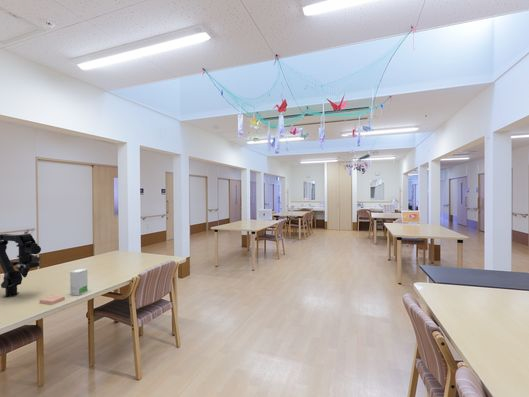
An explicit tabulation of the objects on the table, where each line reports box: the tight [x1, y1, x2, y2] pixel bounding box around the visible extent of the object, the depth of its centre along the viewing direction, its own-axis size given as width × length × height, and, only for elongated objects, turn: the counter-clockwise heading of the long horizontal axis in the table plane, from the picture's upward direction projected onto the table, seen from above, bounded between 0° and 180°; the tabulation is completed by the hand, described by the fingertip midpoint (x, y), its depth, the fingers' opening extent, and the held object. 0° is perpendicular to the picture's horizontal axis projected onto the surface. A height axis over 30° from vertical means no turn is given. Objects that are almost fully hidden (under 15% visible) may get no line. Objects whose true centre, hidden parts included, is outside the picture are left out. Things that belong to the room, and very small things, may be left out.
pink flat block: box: [39, 294, 66, 306], centre depth 168 cm, size 2×8×10 cm
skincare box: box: [69, 268, 89, 296], centre depth 182 cm, size 8×7×16 cm
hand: (24, 277), depth 175 cm, fingers closed
